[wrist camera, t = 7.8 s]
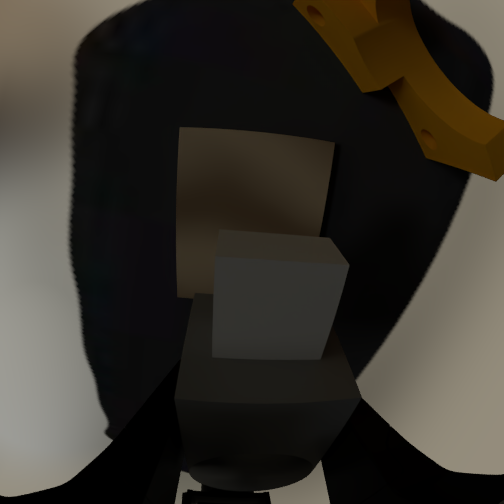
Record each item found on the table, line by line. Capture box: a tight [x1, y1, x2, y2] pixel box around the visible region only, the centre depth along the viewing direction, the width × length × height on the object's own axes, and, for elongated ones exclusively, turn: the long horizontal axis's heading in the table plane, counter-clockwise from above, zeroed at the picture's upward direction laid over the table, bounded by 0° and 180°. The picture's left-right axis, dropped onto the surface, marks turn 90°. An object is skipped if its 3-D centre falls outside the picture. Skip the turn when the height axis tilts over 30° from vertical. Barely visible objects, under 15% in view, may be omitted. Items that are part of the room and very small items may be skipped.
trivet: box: [176, 127, 335, 298], centre depth 16 cm, size 10×8×1 cm
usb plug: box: [174, 229, 362, 491], centre depth 8 cm, size 9×4×4 cm, turn 174°
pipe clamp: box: [293, 0, 504, 181], centre depth 10 cm, size 12×4×6 cm, turn 37°
